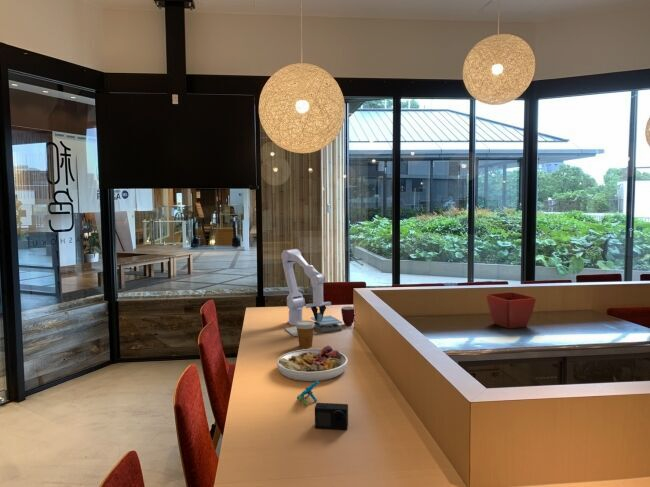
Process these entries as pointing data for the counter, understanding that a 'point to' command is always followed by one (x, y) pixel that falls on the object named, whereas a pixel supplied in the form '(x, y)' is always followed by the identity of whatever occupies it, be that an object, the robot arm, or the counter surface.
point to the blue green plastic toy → (307, 391)
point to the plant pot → (510, 309)
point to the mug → (348, 315)
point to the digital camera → (331, 416)
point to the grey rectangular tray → (327, 327)
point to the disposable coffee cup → (305, 333)
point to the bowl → (312, 364)
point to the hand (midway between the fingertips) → (318, 319)
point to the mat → (294, 331)
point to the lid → (326, 320)
